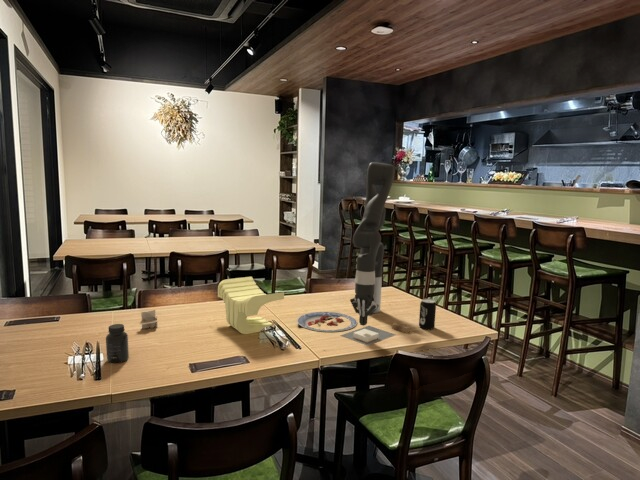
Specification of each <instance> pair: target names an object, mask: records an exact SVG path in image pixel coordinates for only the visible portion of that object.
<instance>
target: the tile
mask: <svg viewBox="0 0 640 480" xmlns="http://www.w3.org/2000/svg"><path fill="white" fill-rule="evenodd" d="M353 338H355V339H358V340H361V341H363V342H366V343H368V342H370V341H373V340H376V339H378V338H379V333H376V332H373V331H370V330H367V329H363V330H360V331H357V332H354V333H353Z"/></svg>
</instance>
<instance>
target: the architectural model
mask: <svg viewBox="0 0 640 480" xmlns="http://www.w3.org/2000/svg"><path fill="white" fill-rule="evenodd" d="M158 322H159V320H158V317H156V309H154V310H146V311H141V321H138V323H139V325H141V330H143V329H149V327H150V329H154V327H156V328H158V327H159V326H158Z"/></svg>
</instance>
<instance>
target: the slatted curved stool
mask: <svg viewBox="0 0 640 480" xmlns="http://www.w3.org/2000/svg"><path fill="white" fill-rule="evenodd" d="M217 298H220V299H222V300H223V303H224V304H225V306H224V308H225V314H226V316H225V317H226V322H227V323H228V325H230V326H231V327H232V328H234V329H235V330H237V332H239V334H240V333H241V334H242V335H247V334H255V333H259V332H261V331H260V330H261V329H263V328H265V327H269V326H273V325H274V324H273V323H272V322H269V321H268V320H267V319H266V318H264V317H263V316H257V315H258V313H259V310H260V309H261V307H262V306H264V305H266V304H268V303H271V302H274V301H275V302H277V301H281V300H285V291H283V292H281V291H280V292H276V293H267V294H266V293H264V291H263V290H262V289H260V287H259V285H257V283H256V282H255V280H254V278H253V276H245V277H235V278H227V279H223V280H221V281H220V282H219V284H218V286H217ZM253 316H254V317H253ZM255 316H257V317H255ZM273 327H274V326H273Z"/></svg>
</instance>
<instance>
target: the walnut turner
mask: <svg viewBox="0 0 640 480" xmlns="http://www.w3.org/2000/svg"><path fill="white" fill-rule="evenodd" d="M391 329H393V330H395V331H397V332H402V333H406V334H407V333H409V332H410V330H411V327H410V326H408V325H404V324H401V323H398V322H394V323H392V325H391Z"/></svg>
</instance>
